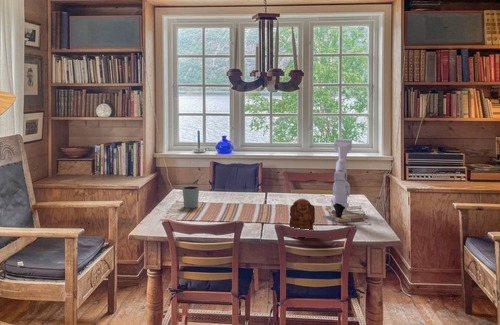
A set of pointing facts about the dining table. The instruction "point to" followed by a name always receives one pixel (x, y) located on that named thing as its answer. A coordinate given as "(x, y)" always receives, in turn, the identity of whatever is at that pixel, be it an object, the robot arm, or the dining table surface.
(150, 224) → the dining table surface
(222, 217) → the dining table surface
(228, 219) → the dining table surface
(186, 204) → the green plant pot
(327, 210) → the plank
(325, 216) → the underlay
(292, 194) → the dining table surface
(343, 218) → the plank
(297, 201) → the wooden figurine
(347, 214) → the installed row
